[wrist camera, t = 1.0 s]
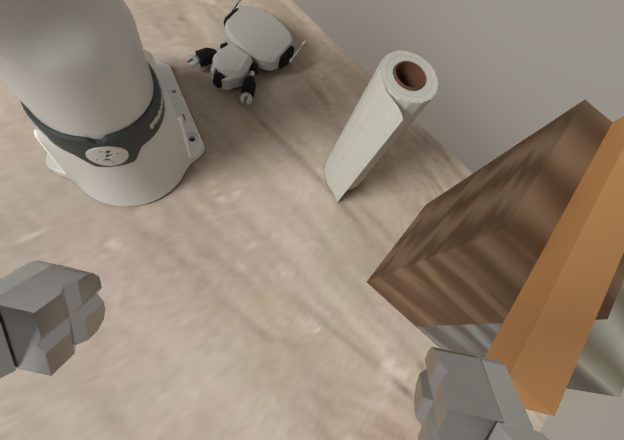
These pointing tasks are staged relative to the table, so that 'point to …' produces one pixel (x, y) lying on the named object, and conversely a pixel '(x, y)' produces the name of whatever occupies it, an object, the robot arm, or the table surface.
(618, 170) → the batten
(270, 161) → the table surface
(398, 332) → the table surface
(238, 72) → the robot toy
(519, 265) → the stepped stand
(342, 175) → the paper towel roll
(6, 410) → the table surface
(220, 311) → the table surface
